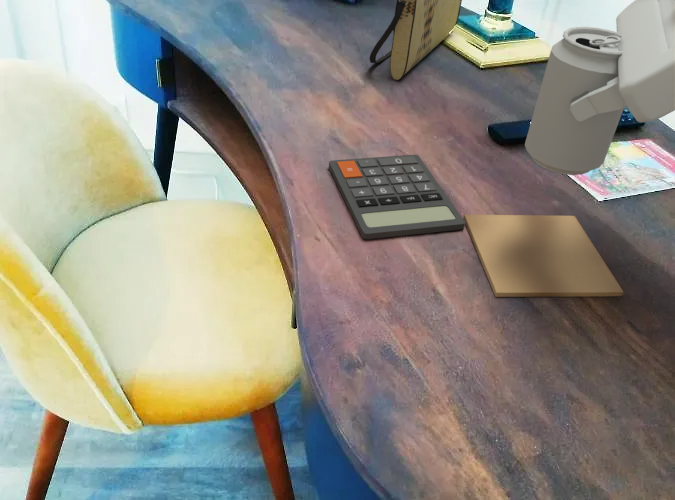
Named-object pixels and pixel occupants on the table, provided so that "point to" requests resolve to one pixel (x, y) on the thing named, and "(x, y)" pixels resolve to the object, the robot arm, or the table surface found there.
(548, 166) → the can
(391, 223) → the calculator
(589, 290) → the cork mat
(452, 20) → the clutch purse
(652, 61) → the robot arm
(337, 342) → the table surface
